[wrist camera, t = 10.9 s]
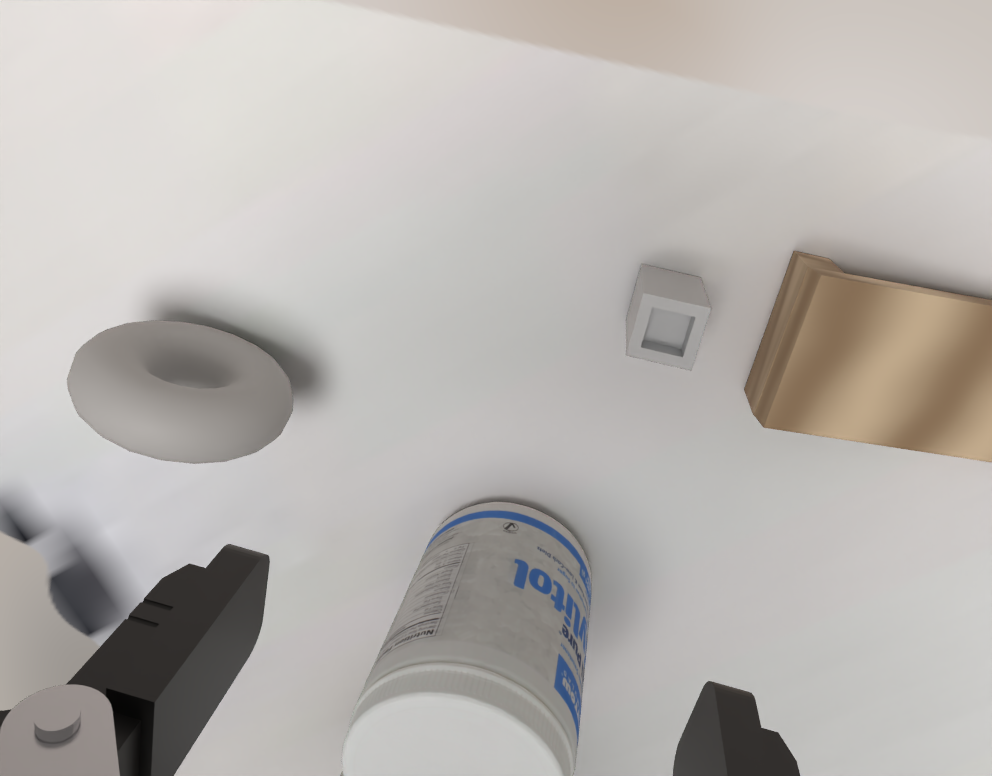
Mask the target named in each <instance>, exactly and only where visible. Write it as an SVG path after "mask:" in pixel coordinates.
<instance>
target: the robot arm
mask: <svg viewBox="0 0 992 776" xmlns="http://www.w3.org/2000/svg"><path fill="white" fill-rule="evenodd" d="M269 563H270V561H269V556H268V555H266V554H263V553H259V552H256V551H252V550H249V549H245V548H242V547H238V546H235V545H231V544H228V545H226V546H224V547H223V548H222V550H221V551H220V552H219V553H218V554H217V555H216V557H215V558H214V559H213V560H212V561H211V563H210V564H209V565H208V566H207V567H206V568H203V567H199V566H196V565H192V564H188V565H186V566H184V567H182V568H180V569H179V570H177V571H175V572H173V573H171V574H169V575H167V576H166V577H164V578H162V579H161V580H160V581H159V583H158V584H157V585H156V586H155V587H154V588H153V589H152V590H151V591H150V593H149V594H148V595H147V596H146V597H145V598H144V601H143V603H141V602H140V604H139V605H138V606H137V607H136V608H135V609H134V610H133V611H132V612H131V614H130V615H129V618H128V619H127V620H126V619H125V620H124V621H123V622H122V624H121V625H120V626H119V627H118V628H117V629H116V630H115V631H114V632H113V633H112V635H111V636H110V637H109V638H108V639H107V640H106V641H105V642H104V643H103V645H102V646H101V647H100V648H99V649H98V650H97V651H96V652H95V654H94V655H93V656H92V657H91V658H90V659H89V660H88V661H87V662H86V663H85V665H84V666H83V667H82V668H81V669H80V670H79V671H78V672H77V673H76V674H75V676H74V677H73V678H72V679H71V680H70V681H69V682H68V683H67V684H66V685H60V686H54V687H50V688H46V689H44V690H41V691H38V692H36V693H34V694H32V695H30V696H28V697H27V698H25V699H24V700H22V701H21V702H20V703H18V704H17V705H16V706H15V707H14V708H13V709H12V710H5V711H0V776H174V774H175V773H176V771H177V769H178V768H179V766H180V765H181V763H182V762H183V760H184V758H185V757H186V755H187V754H188V752H189V751H190V749H191V747H192V746H193V744H194V743H195V741H196V739H197V738H198V736H199V735H200V733H201V732H202V730H203V728H204V727H205V725H206V724H207V722H208V721H209V719H210V717H211V716H212V714H213V713H214V711H215V710H216V708H217V706H218V705H219V703H220V702H221V700H222V699H223V697H224V695H225V694H226V692H227V691H228V689H229V688H230V686H231V684H232V683H233V681H234V680H235V678H236V676H237V675H238V673H239V672H240V670H241V669H242V667H243V665H244V664H245V662H246V661H247V659H248V658H249V656H250V654H251V652H252V650H253V648H254V646H255V644H256V641H257V639H258V636H259V633H260V630H261V626H262V621H263V614H264V605H265V597H266V589H267V581H268V572H269ZM340 776H344V775H343V770H342V773H341V775H340ZM673 776H800V773H799V769H798V765H797V761H796V760H795V758H794V757H793V755H792V753H791V752H790V750H789V749H788V747H787V746H786V744H785V743H784V741H783V739H782V738H781V736H780V735H779V733H778V732H774V731H771V730H767V729H764V728H761V725H760V720H759V715H758V710H757V706H756V701H755V698H754V696H753V694H752V693H750V692H747V691H743V690H740V689H736V688H733V687H729V686H725V685H722V684H718V683H715V682H711V681H708V682H707V683H706V684H705V685H704V687H703V689H702V691H701V693H700V696H699V698H698V700H697V702H696V705H695V707H694V709H693V711H692V714H691V716H690V718H689V721H688V723H687V725H686V727H685V730H684V732H683V734H682V736H681V739H680V741H679V744H678V747H677V751H676V755H675V760H674V769H673Z"/></svg>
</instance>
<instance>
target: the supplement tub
mask: <svg viewBox="0 0 992 776" xmlns="http://www.w3.org/2000/svg"><path fill="white" fill-rule="evenodd" d="M591 590H592V578H591V571H590V566H589V563H588V560H587V558H586V555H585V553H584V551H583V549H582V547H581V546H580V544H579V543H578V541H577V540H576V539H575V537H574V536H573V535H572V534H571V533H570V532H569V531H568V530H567V529H566V528H565V527H564V526H563V525H562V524H560V523H559V522H558V521H556V520H555V519H553V518H552V517H550V516H548V515H546V514H544V513H542V512H540V511H538V510H536V509H533V508H530V507H527V506H524V505H520V504H515V503H510V502H489V503H483V504H478V505H474V506H471V507H468V508H465V509H463V510H461V511H459V512H457V513H455V514H454V515H452V516H451V517H449V518H448V519H447V520H446V521H445V522H444V523H442V524H441V525H440V527H439V528H438V529H437V530H436V532H435V533H434V535H433V536H432V538H431V540H430V542H429V544H428V546H427V548H426V550H425V553H424V555H423V557H422V559H421V561H420V564H419V566H418V568H417V570H416V573H415V575H414V577H413V579H412V581H411V584H410V586H409V588H408V590H407V593H406V595H405V597H404V599H403V601H402V603H401V606H400V608H399V610H398V612H397V615H396V617H395V619H394V621H393V623H392V626H391V628H390V630H389V632H388V635H387V637H386V639H385V641H384V643H383V646H382V648H381V650H380V652H379V655H378V657H377V659H376V661H375V663H374V666H373V668H372V670H371V672H370V674H369V677H368V679H367V681H366V683H365V686H364V688H363V691H362V693H361V695H360V697H359V699H358V702H357V704H356V706H355V708H354V711H353V714H352V717H351V720H350V726H349V730H348V733H347V735H346V738H345V741H344V744H343V749H342V761H341V762H342V770H343V775H344V776H573V774H574V770H575V763H576V754H577V746H578V737H579V726H580V715H581V703H582V692H583V681H584V670H585V660H586V649H587V638H588V626H589V615H590V603H591Z"/></svg>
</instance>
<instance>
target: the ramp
mask: <svg viewBox="0 0 992 776" xmlns="http://www.w3.org/2000/svg"><path fill="white" fill-rule="evenodd" d="M744 390H745V393H746V396H747V399H748V402H749V404H750V407H751V410H752V413H753V415H754V416H755V417H756V418H757V420H758V421H759V422H760V423H761V425H762V426H763V427H764V428H771V429H777V430H784V431H790V432H797V433H803V434H810V435H816V436H823V437H829V438H836V439H843V440H849V441H856V442H862V443H869V444H875V445H882V446H888V447H895V448H901V449H908V450H915V451H921V452H928V453H934V454H941V455H947V456H954V457H960V458H967V459H973V460H980V461H987V462H992V300H989V299H983V298H978V297H972V296H967V295H961V294H956V293H950V292H945V291H939V290H934V289H928V288H923V287H917V286H912V285H906V284H901V283H895V282H890V281H884V280H879V279H873V278H868V277H862V276H857V275H851V274H846V273H844V272H843V271H842V270H841V269H840V268H838V267H837V266H836V265H835V264H834V263H833V262H832V261H831V260H830V259H828V258H824V257H819V256H815V255H810V254H806V253H801V252H797V251H794V252H793V255H792V258H791V260H790V263H789V266H788V269H787V271H786V274H785V277H784V280H783V283H782V285H781V288H780V291H779V294H778V297H777V299H776V302H775V305H774V308H773V310H772V313H771V316H770V319H769V322H768V324H767V327H766V330H765V333H764V336H763V338H762V341H761V344H760V347H759V350H758V352H757V355H756V358H755V361H754V363H753V366H752V369H751V372H750V375H749V377H748V380H747V383H746V386H745V389H744Z"/></svg>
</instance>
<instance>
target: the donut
mask: <svg viewBox="0 0 992 776" xmlns="http://www.w3.org/2000/svg"><path fill="white" fill-rule="evenodd" d="M67 385H68V391H69V394H70V396H71V399H72V402H73V404H74V407H75V409H76V411H77V413H78V415H79V416H80V417H81V418H82V419H83V420H84V421H85V422H86V423H87V424H88V425H89V426H90V427H91V428H93V429H94V430H95V431H96V432H97V433H98V434H99V435H101V436H102V437H103V438H105V439H107V440H109V441H111V442H113V443H115V444H117V445H119V446H121V447H123V448H125V449H127V450H128V451H131V452H134V453H138V454H141V455H145V456H148V457H152V458H155V459H159V460H164V461H174V462H183V463H192V464H197V463H212V462H225V461H229V460H232V459H236V458H239V457H243V456H246V455H249V454H252V453H255V452H257V451H259V450H260V449H262V448H263V447H265V446H266V445H268V444H269V443H271V442H272V441H274V440H275V439H276V438H277V437H278V436H279V435H280V434H281V433H282V431H283V429H284V427H285V425H286V424H287V422H288V420H289V418H290V416H291V414H292V411H293V395H292V388H291V384H290V381H289V378H288V376H287V375H286V374H285V372H284V371H283V370H282V368H281V367H280V366H279V364H278V363H277V362H276V361H275V359H274V358H273V357H271V356H270V355H269V354H267V353H266V352H265V351H263V350H262V349H261V348H259V347H258V346H257V345H255V344H252V343H250V342H248V341H246V340H244V339H242V338H240V337H238V336H236V335H233V334H231V333H228V332H224V331H221V330H218V329H215V328H212V327H208V326H203V325H198V324H192V323H187V322H177V321H154V320H153V321H143V322H133V323H126V324H123V325H120V326H116V327H113V328H110V329H107V330H105V331H103V332H101V333H99V334H97V335H96V336H94V337H93V338H92V339H90V340H89V341H88V342H86V343H85V344H84V345H83V346H82V347H81V348H80V349H79V350H78V351H77V352H76V354H75V357H74V360H73V363H72V366H71V369H70V372H69V375H68V378H67Z"/></svg>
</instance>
